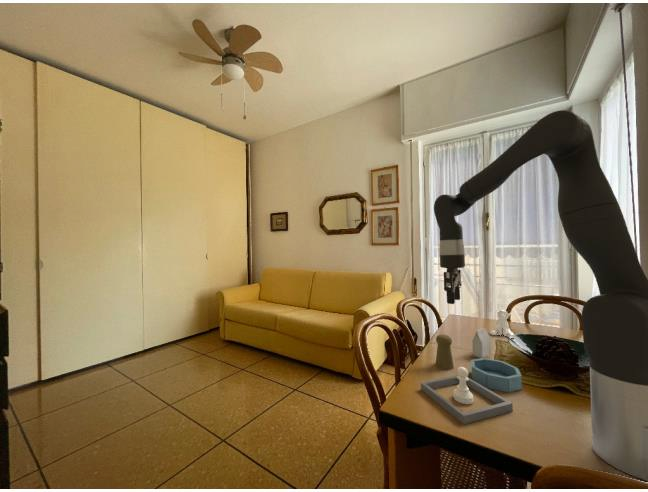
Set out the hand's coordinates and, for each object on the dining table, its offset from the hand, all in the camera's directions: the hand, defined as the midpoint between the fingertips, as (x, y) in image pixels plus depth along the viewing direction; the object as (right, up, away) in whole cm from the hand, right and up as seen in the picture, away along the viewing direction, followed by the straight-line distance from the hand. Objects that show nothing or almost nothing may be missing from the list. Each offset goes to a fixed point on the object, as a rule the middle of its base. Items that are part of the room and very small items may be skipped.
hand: (453, 301), depth 84 cm
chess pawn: (-4, -25, -13) cm, 29 cm away
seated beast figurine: (+43, -25, +37) cm, 62 cm away
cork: (0, -25, +7) cm, 26 cm away
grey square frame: (-4, -25, -13) cm, 28 cm away
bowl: (+11, -25, -3) cm, 27 cm away
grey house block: (+19, -25, +16) cm, 35 cm away
